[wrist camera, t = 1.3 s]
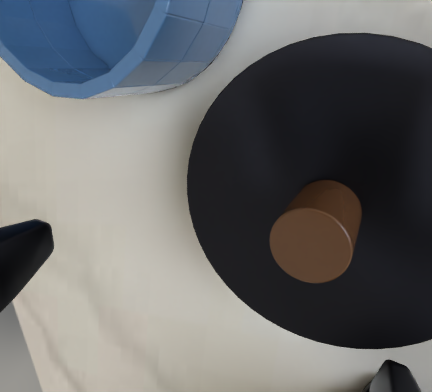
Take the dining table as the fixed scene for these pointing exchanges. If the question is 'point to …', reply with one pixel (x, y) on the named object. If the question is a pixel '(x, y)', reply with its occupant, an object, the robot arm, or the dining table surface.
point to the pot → (112, 43)
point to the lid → (323, 189)
